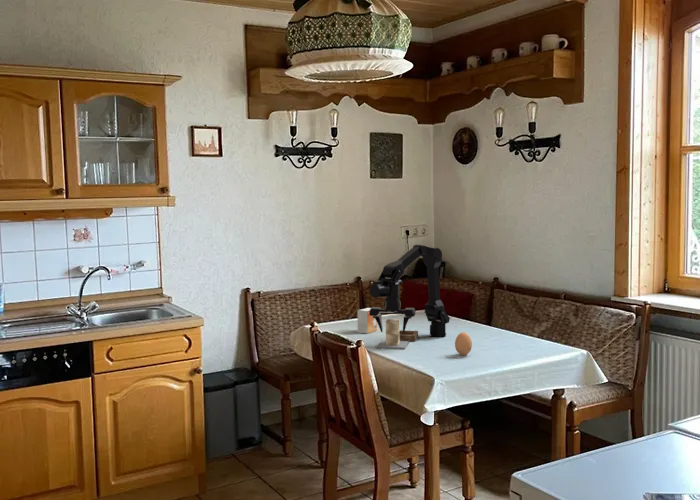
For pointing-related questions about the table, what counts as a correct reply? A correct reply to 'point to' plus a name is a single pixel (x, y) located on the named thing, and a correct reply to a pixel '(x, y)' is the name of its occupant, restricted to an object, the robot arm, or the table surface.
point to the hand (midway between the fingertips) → (392, 332)
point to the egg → (463, 343)
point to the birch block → (392, 332)
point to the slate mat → (400, 346)
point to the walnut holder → (408, 335)
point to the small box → (366, 321)
